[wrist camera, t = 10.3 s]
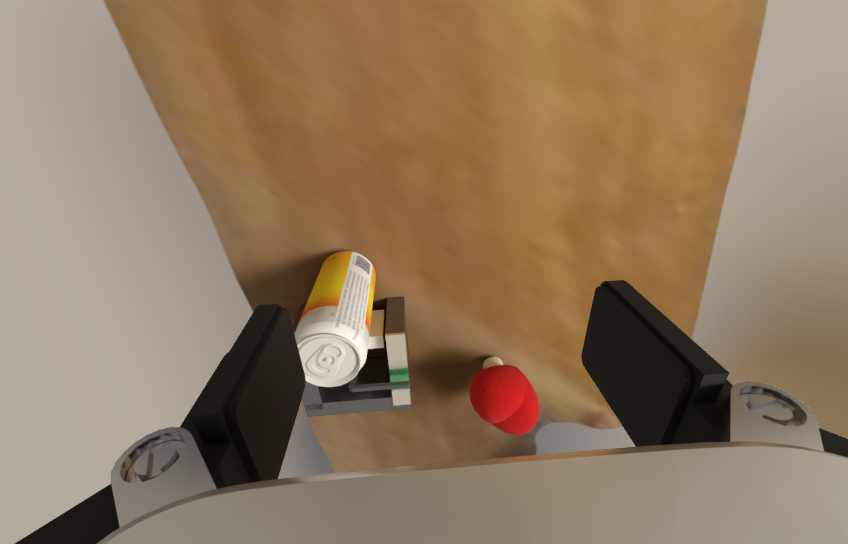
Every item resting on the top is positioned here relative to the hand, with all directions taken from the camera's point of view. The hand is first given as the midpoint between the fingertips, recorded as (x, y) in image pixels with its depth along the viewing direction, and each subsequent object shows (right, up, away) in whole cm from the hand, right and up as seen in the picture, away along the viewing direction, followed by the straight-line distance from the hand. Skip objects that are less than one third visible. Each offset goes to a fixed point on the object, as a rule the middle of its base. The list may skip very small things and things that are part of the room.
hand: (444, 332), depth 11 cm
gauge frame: (-9, -6, +34) cm, 36 cm away
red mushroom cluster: (+8, -10, +38) cm, 40 cm away
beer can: (-9, +2, +31) cm, 32 cm away
